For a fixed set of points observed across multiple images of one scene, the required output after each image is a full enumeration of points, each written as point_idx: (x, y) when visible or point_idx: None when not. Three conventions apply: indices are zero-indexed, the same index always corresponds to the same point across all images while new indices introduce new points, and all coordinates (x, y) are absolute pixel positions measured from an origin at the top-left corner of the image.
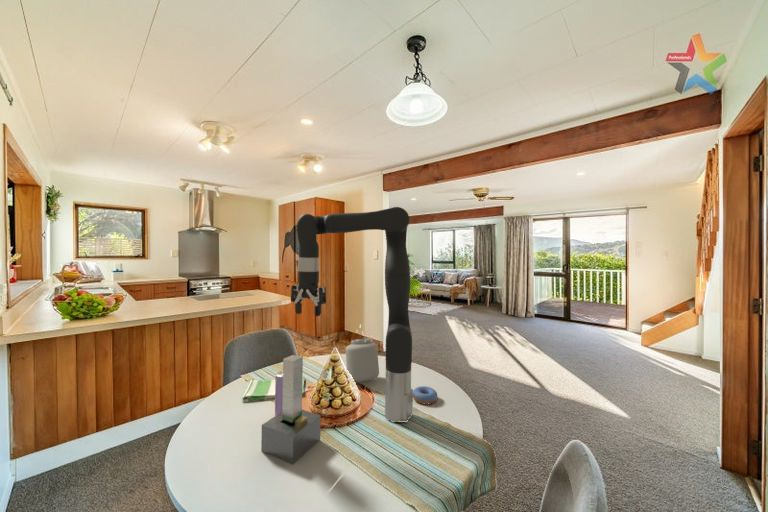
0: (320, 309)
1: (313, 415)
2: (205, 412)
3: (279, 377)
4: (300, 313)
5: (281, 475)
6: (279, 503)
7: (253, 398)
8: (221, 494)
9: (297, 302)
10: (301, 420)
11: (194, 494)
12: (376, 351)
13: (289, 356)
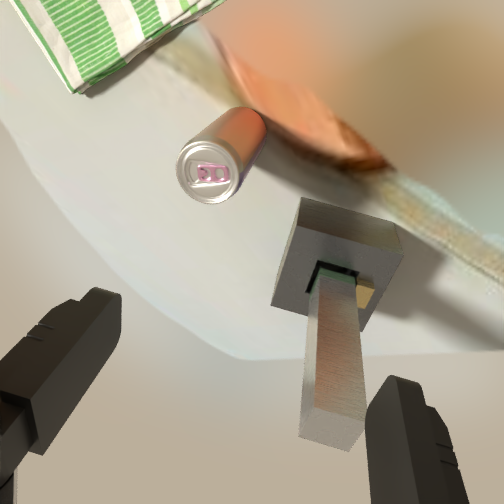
0: (454, 489)
1: (382, 258)
2: (48, 166)
3: (208, 202)
4: (120, 302)
5: None
6: (369, 353)
7: (98, 77)
8: (276, 346)
9: (16, 477)
10: (364, 302)
11: (241, 347)
12: None
13: (309, 418)
